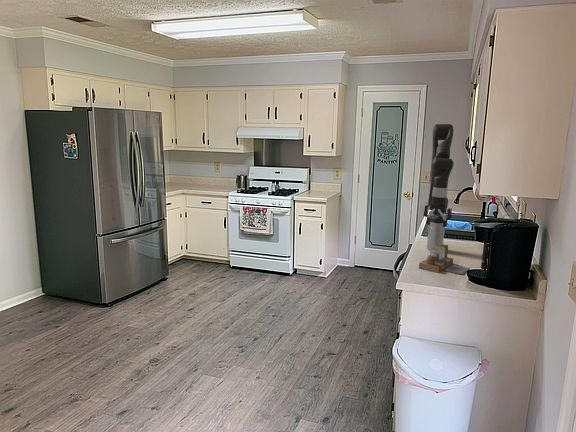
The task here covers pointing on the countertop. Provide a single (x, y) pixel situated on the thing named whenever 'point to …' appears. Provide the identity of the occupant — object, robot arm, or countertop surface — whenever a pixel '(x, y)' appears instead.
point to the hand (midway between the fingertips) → (436, 226)
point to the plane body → (436, 266)
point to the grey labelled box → (438, 253)
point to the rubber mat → (457, 269)
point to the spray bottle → (484, 256)
